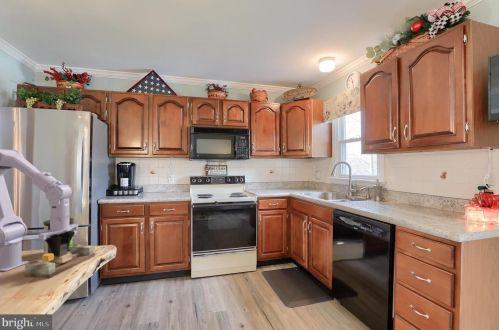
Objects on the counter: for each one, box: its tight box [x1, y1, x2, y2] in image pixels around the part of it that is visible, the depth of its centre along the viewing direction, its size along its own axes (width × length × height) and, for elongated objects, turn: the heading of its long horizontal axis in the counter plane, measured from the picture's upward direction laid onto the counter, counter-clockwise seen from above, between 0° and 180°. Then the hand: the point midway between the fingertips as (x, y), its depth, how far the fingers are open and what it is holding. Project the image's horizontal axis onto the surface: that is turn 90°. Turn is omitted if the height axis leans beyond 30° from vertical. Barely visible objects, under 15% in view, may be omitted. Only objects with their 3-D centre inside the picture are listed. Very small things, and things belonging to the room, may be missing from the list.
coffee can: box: [43, 217, 74, 255], centre depth 105 cm, size 10×10×14 cm
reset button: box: [41, 253, 54, 262], centre depth 83 cm, size 2×2×2 cm
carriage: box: [49, 243, 72, 263], centre depth 91 cm, size 6×4×6 cm, turn 83°
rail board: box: [23, 243, 96, 279], centre depth 92 cm, size 10×20×5 cm, turn 172°
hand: (60, 253), depth 91 cm, fingers closed on carriage, 3 cm apart
